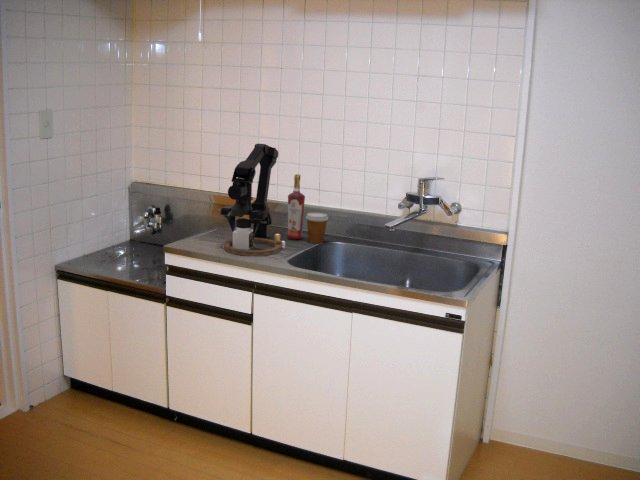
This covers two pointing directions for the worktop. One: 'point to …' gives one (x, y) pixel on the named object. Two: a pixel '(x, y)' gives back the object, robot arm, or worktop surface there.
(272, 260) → the worktop surface
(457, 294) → the worktop surface
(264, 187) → the robot arm
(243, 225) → the medicine bottle
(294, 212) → the liquor
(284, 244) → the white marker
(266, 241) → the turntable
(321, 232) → the disposable coffee cup
